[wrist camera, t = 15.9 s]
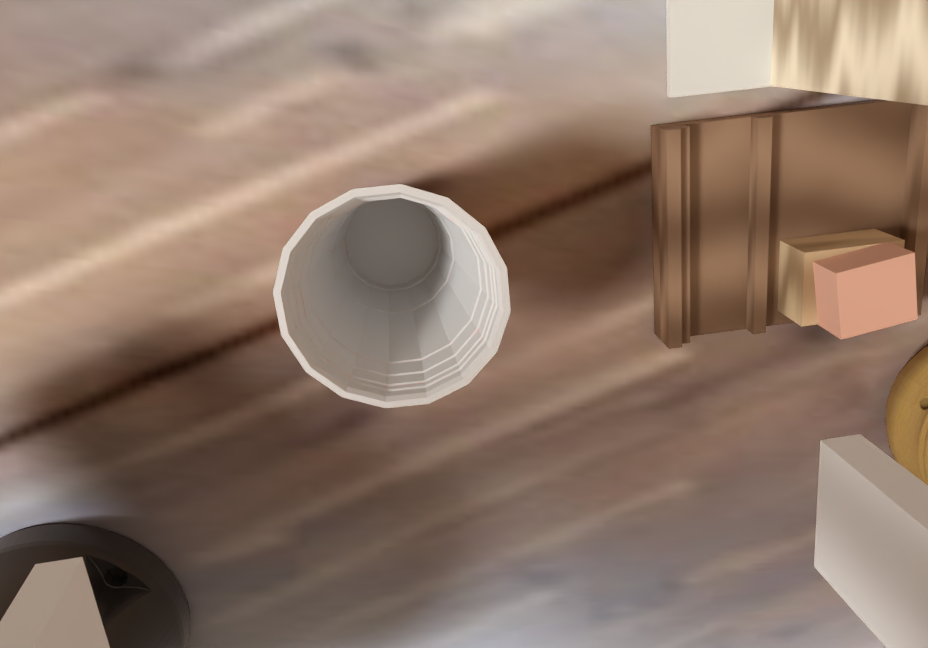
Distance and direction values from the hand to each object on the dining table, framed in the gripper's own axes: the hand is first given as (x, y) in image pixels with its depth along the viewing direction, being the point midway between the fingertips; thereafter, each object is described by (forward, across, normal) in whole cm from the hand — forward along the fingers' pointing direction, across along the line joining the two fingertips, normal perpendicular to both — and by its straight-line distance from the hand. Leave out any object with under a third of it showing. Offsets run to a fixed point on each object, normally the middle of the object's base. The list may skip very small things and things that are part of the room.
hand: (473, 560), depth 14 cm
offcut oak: (+33, -26, +7) cm, 43 cm away
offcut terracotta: (+30, -26, +7) cm, 40 cm away
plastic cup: (+35, 0, +2) cm, 35 cm away
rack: (+34, -24, +4) cm, 42 cm away
